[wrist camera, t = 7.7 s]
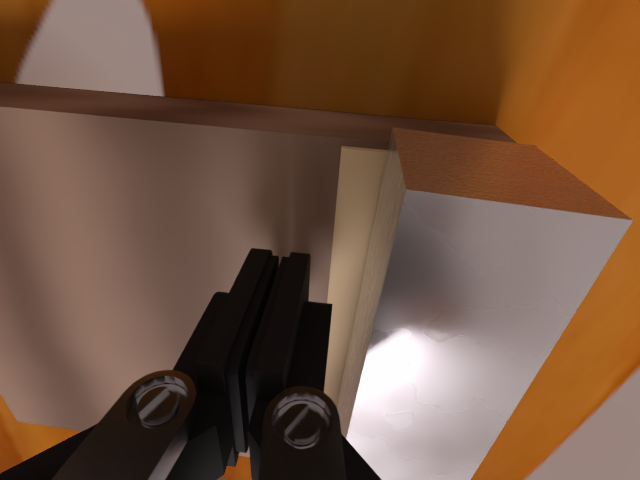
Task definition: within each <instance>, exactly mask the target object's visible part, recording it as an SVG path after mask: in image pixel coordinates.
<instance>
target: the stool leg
mask: <svg viewBox="0 0 640 480" xmlns="http://www.w3.org/2000/svg"><path fill="white" fill-rule="evenodd" d="M632 221H633V220H632V219H631V218H629V217H628V216H627V215H625V214H624V213H623V212H621V211H620V210H619V209H617V208H616V207H615V206H613V205H612V204H611V203H610V202H608V201H607V200H606V199H604V198H603V197H602V196H600V195H599V194H598V193H596V192H595V191H594V190H592V189H591V188H590V187H588V186H587V185H586V184H584V183H583V182H582V181H581V180H579V179H578V178H577V177H575V176H574V175H573V174H571V173H570V172H569V171H567V170H566V169H565V168H563V167H562V166H561V165H559V164H558V163H557V162H556V161H554V160H553V159H552V158H550V157H549V156H548V155H546V154H545V153H544V152H542V151H541V150H540V149H538V148H537V147H536V146H534V145H526V144H518V143H510V142H503V141H495V140H487V139H479V138H472V137H464V136H456V135H448V134H440V133H433V132H425V131H417V130H409V129H402V128H394V127H393V129H392V134H391V139H390V144H389V149H388V154H387V159H386V164H385V169H384V174H383V179H382V184H381V189H380V194H379V199H378V204H377V209H376V214H375V219H374V224H373V229H372V234H371V239H370V244H369V249H368V254H367V259H366V264H365V268H364V273H363V278H362V283H361V288H360V293H359V298H358V303H357V308H356V313H355V318H354V323H353V328H352V333H351V338H350V343H349V348H348V353H347V358H346V363H345V368H344V373H343V378H342V383H341V388H340V393H339V398H338V403H337V410H338V413H339V417H340V424H341V434H342V435H343V436H344V437H345V438H346V439H347V440H348V442H349V443H350V444H351V445H352V446H353V447H354V449H355V450H356V451H357V452H358V453H359V454H360V455H361V457H362V458H363V459H364V460H365V461H366V462H367V463H368V465H369V466H370V467H371V468H372V469H373V470H374V471H375V473H376V474H377V475H378V476H379V477H380V478H381V479H382V480H471V478H472V476H473V475H474V473H475V472H476V470H477V468H478V467H479V465H480V464H481V462H482V460H483V459H484V457H485V456H486V454H487V452H488V451H489V449H490V448H491V446H492V444H493V443H494V441H495V440H496V438H497V437H498V435H499V433H500V432H501V430H502V429H503V427H504V425H505V424H506V422H507V421H508V419H509V417H510V416H511V414H512V413H513V411H514V409H515V408H516V406H517V405H518V403H519V401H520V400H521V398H522V397H523V395H524V393H525V392H526V390H527V389H528V387H529V385H530V384H531V382H532V381H533V379H534V377H535V376H536V374H537V373H538V371H539V370H540V368H541V366H542V365H543V363H544V362H545V360H546V358H547V357H548V355H549V354H550V352H551V350H552V349H553V347H554V346H555V344H556V342H557V341H558V339H559V338H560V336H561V334H562V333H563V331H564V330H565V328H566V326H567V325H568V323H569V322H570V320H571V318H572V317H573V315H574V314H575V312H576V310H577V309H578V307H579V306H580V304H581V303H582V301H583V299H584V298H585V296H586V295H587V293H588V291H589V290H590V288H591V287H592V285H593V283H594V282H595V280H596V279H597V277H598V275H599V274H600V272H601V271H602V269H603V267H604V266H605V264H606V263H607V261H608V259H609V258H610V256H611V255H612V253H613V251H614V250H615V248H616V247H617V245H618V243H619V242H620V240H621V239H622V237H623V236H624V234H625V232H626V231H627V229H628V228H629V226H630V224H631V223H632Z"/></svg>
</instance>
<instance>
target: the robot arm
mask: <svg viewBox="0 0 640 480" xmlns="http://www.w3.org/2000/svg"><path fill="white" fill-rule="evenodd" d="M310 261H311V255H310V254H307V253H296V252H291V253H290V255H289V257H284V256H283V257H282V259H281V262H280V265H279V256H275V255H273V254H272V250H267V249H257V248H251V249H250V251H249V253H248V255H247V257H246V259H245V261H244V263H243V265H242V267H241V269H240V271H239V273H238V275H237V277H236V279H235V281H234V284H233V286H232V288H231V290H230V292H229V293H227V292H216V293H215V294H214V295H213V297H212V299H211V300H210V302H209V304H208V306H207V308H206V310H205V311H204V313H203V315H202V317H201V319H200V321H199V322H198V324H197V326H196V328H195V330H194V332H193V333H192V335H191V337H190V339H189V341H188V342H187V344H186V346H185V348H184V350H183V352H182V353H181V355H180V357H179V359H178V361H177V363H176V364H175V366H174V368H173V370H162V371H156V372H153V373H151V374H148V375H145V376H143V377H142V378H140V379H139V380H137V381H135V382H134V383H133V384H132V385H131V386H130V387H129V388H128V389H127V390H125V391H124V393H123V394H122V395H121V396H120V398H119V399H118V400H117V401H116V402H115V404H114V405H113V406H112V407H111V408H110V410H109V411H108V412H107V413H106V414H105V416H104V417H103V418H102V419H101V420H100V422H99V423H97V424H96V425H94V426H92V427H90V428H88V429H86V430H84V431H82V432H80V433H78V434H76V435H74V436H72V437H70V438H68V439H66V440H65V441H63V442H61V443H59V444H57V445H55V446H53V447H51V448H49V449H47V450H45V451H43V452H41V453H39V454H37V455H35V456H33V457H32V458H30V459H28V460H26V461H24V462H22V463H20V464H18V465H16V466H14V467H12V468H10V469H8V470H6V471H4V472H2V473H1V474H0V480H217V479H218V478H219V477H221V476H222V475H224V473H225V470H226V466H234V467H235V466H236V463H237V459H238V456H239V452H243V453H247V451H248V448H249V452H250V464H251V476H252V480H382V479H381V478H380V477H379V476H378V475H377V474H376V473H375V471H374V470H373V469H372V468H371V467H370V466H369V465H368V463H367V462H366V461H365V460H364V459H363V458H362V457H361V455H360V454H359V453H358V452H357V451H356V450H355V449H354V447H353V446H352V445H351V444H350V443H349V442H348V440H347V439H346V438H345V437H344V436H343V435H342V434H341V424H340V417H339V413H338V410H337V407H336V405H335V404H334V402H333V401H332V399H331V398H330V397H329V396H327V395H326V394H325V393H324V386H325V376H326V367H327V357H328V347H329V336H330V326H331V315H332V305H333V304H329V303H320V302H310V301H309V282H310Z"/></svg>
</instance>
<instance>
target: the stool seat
mask: <svg viewBox="0 0 640 480" xmlns="http://www.w3.org/2000/svg"><path fill="white" fill-rule="evenodd" d="M393 127H394V128H402V129H409V130H417V131H425V132H433V133H440V134H448V135H456V136H464V137H472V138H479V139H487V140H495V141H503V142H510V143H516V142H515V141H514V140H512V139H511V138H510V137H509V136H508V135H506V134H505V133H504V132H503V131H502V130H500V129H499V128H498V127H497V126H493V125H481V124H470V123H458V122H447V121H436V120H424V119H413V118H401V117H390V116H378V115H367V114H356V113H344V112H333V111H321V110H310V109H298V108H287V107H276V106H264V105H253V104H241V103H230V102H218V101H207V100H196V99H184V98H173V97H161V96H149V95H138V94H126V93H115V92H104V91H92V90H80V89H70V88H58V87H46V86H36V85H24V84H13V83H1V82H0V394H1V396H2V398H3V399H4V401H5V402H6V404H7V405H8V407H9V409H10V410H11V412H12V413H13V415H14V416H15V418H16V420H17V421H19V422H26V423H32V424H39V425H45V426H52V427H58V428H65V429H71V430H77V431H84V430H86V429H88V428H90V427H92V426H94V425H96V424H97V423H99V422H100V420H101V419H102V418H103V417H104V416H105V414H106V413H107V412H108V411H109V410H110V408H111V407H112V406H113V405H114V404H115V402H116V401H117V400H118V399H119V398H120V396H121V395H122V394H123V393H124V391H125V390H127V389H128V388H129V387H130V386H131V385H132V384H133V383H134V382H135V381H137V380H139V379H140V378H142V377H143V376H145V375H148V374H151V373H153V372H156V371H162V370H173V368H174V366H175V364H176V363H177V361H178V359H179V357H180V355H181V353H182V352H183V350H184V348H185V346H186V344H187V342H188V341H189V339H190V337H191V335H192V333H193V332H194V330H195V328H196V326H197V324H198V322H199V321H200V319H201V317H202V315H203V313H204V311H205V310H206V308H207V306H208V304H209V302H210V300H211V299H212V297H213V295H214V294H215V293H216V292H227V293H229V292H230V290H231V288H232V286H233V284H234V281H235V279H236V277H237V275H238V273H239V271H240V269H241V267H242V265H243V263H244V261H245V259H246V257H247V255H248V253H249V251H250V249H251V248H257V249H267V250H272V254H273V255H275V256H279V265H280V262H281V259H282V257H283V256H284V257H289V255H290V253H291V252H296V253H307V254H310V255H311V261H310V282H309V301H310V302H320V303H329V304H333V305H332V315H331V326H330V336H329V347H328V357H327V367H326V376H325V386H324V393H325V394H326V395H327V396H329V397H330V398H331V399H332V401H333V402H334V404H335V405H336V407H337V403H338V398H339V393H340V388H341V383H342V378H343V373H344V368H345V363H346V358H347V353H348V348H349V343H350V338H351V333H352V328H353V323H354V318H355V313H356V308H357V303H358V298H359V293H360V288H361V283H362V278H363V273H364V268H365V264H366V259H367V254H368V249H369V244H370V239H371V234H372V229H373V224H374V219H375V214H376V209H377V204H378V199H379V194H380V189H381V184H382V179H383V174H384V169H385V164H386V159H387V154H388V149H389V144H390V139H391V134H392V129H393ZM239 456H245V457H250V452H249V448H248V451H247V453H243V452H239Z"/></svg>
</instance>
